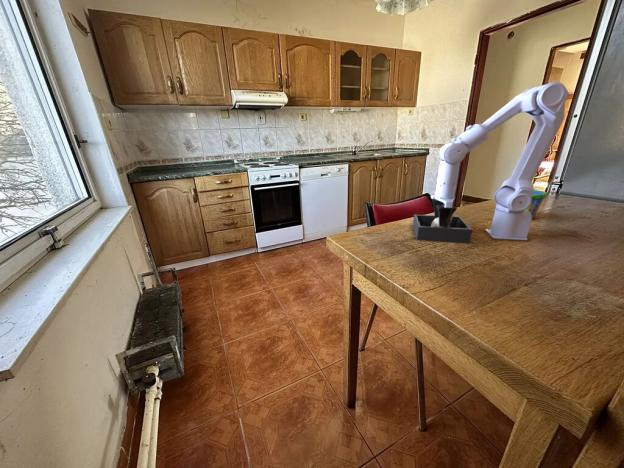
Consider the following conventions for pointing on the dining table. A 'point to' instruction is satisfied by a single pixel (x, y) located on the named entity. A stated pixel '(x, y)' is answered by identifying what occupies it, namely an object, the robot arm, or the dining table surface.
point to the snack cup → (536, 202)
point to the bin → (441, 230)
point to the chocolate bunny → (436, 222)
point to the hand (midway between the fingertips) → (440, 222)
